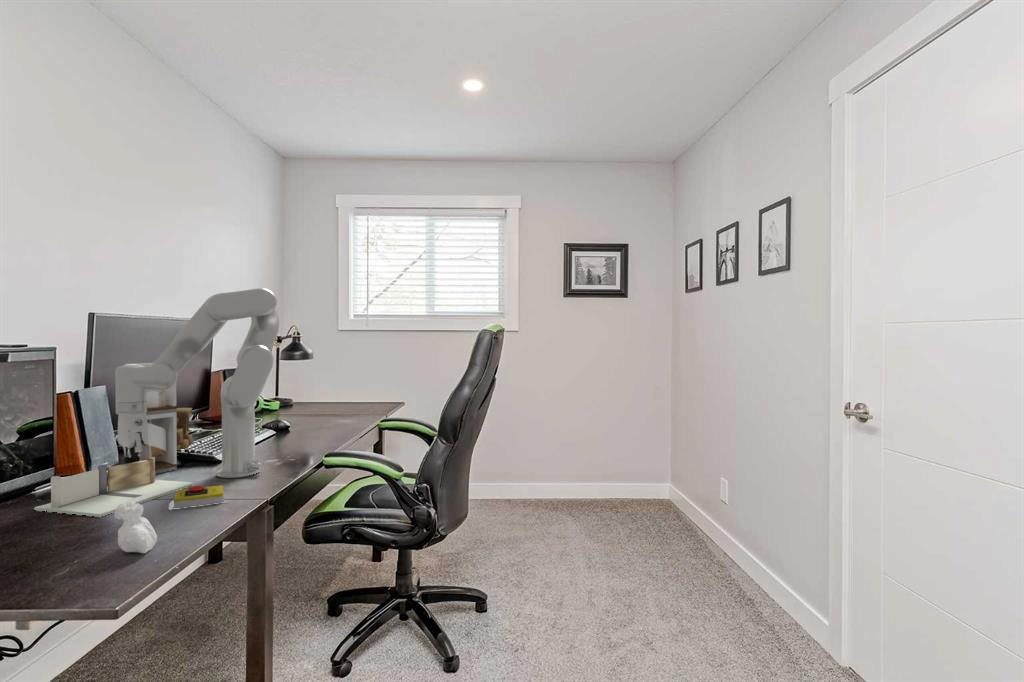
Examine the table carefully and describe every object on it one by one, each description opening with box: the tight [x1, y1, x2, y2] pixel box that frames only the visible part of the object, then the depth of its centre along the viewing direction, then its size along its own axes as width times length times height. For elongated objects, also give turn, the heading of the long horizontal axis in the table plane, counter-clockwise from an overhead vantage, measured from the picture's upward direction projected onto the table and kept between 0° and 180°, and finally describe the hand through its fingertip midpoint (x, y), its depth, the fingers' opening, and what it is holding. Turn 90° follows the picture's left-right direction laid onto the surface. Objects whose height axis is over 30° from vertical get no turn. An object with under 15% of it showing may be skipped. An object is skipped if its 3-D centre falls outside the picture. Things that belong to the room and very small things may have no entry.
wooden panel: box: [107, 457, 156, 491], centre depth 158 cm, size 12×2×7 cm, turn 149°
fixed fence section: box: [50, 464, 108, 508], centre depth 146 cm, size 14×2×8 cm, turn 167°
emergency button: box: [173, 485, 225, 508], centre depth 148 cm, size 9×4×15 cm
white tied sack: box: [113, 501, 158, 554], centre depth 115 cm, size 12×8×11 cm
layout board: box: [33, 479, 195, 518], centre depth 151 cm, size 21×29×1 cm
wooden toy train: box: [176, 407, 194, 450], centre depth 201 cm, size 20×11×17 cm, turn 24°
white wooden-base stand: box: [124, 362, 178, 475], centre depth 180 cm, size 11×11×35 cm
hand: (132, 470), depth 161 cm, fingers closed
